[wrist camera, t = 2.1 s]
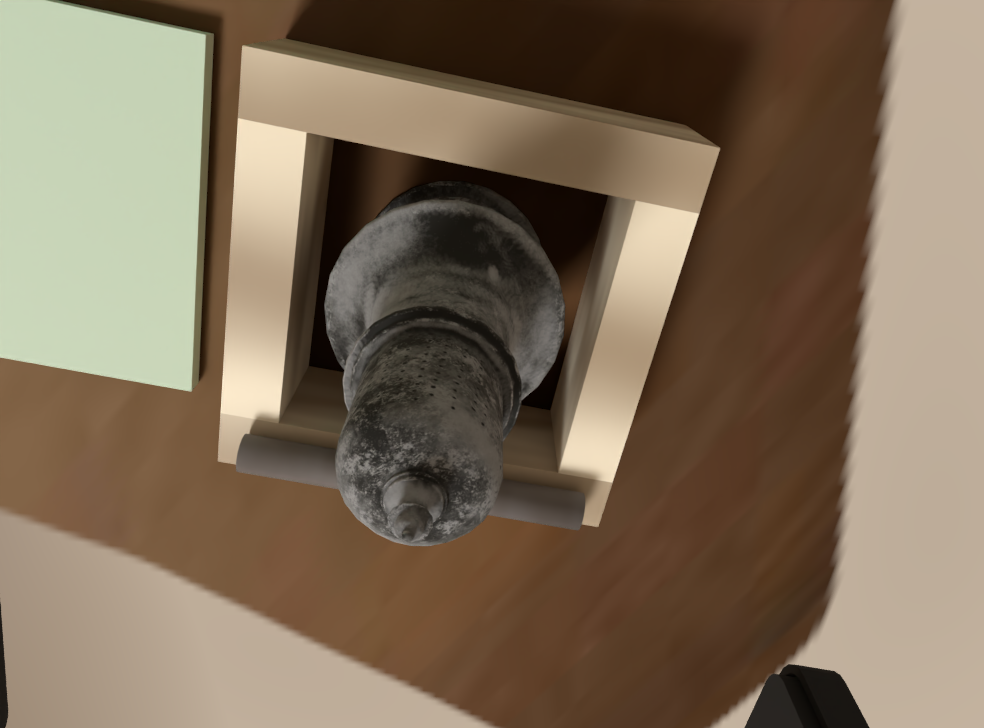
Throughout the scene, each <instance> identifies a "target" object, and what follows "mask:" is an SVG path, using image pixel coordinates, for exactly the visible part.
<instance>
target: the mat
mask: <svg viewBox="0 0 984 728" xmlns="http://www.w3.org/2000/svg"><path fill="white" fill-rule="evenodd" d="M213 45H214V34H212V33H208V32H203V31H198V30H194V29H189V28H184V27H180V26H175V25H170V24H166V23H161V22H157V21H152V20H147V19H143V18H138V17H133V16H129V15H124V14H119V13H115V12H110V11H105V10H101V9H96V8H91V7H87V6H82V5H78V4H73V3H68V2H64V1H59V0H0V357H1V358H7V359H12V360H18V361H24V362H29V363H35V364H40V365H46V366H52V367H57V368H63V369H68V370H74V371H79V372H85V373H91V374H96V375H102V376H107V377H113V378H118V379H124V380H130V381H135V382H141V383H146V384H152V385H158V386H163V387H169V388H174V389H180V390H185V391H192V390H193V389H194V388H195V386H196V385H197V384H198V383H199V361H200V338H201V316H202V293H203V271H204V248H205V225H206V203H207V180H208V158H209V135H210V112H211V90H212V67H213Z"/></svg>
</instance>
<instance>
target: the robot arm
mask: <svg viewBox="0 0 984 728" xmlns="http://www.w3.org/2000/svg"><path fill="white" fill-rule="evenodd" d="M7 718H8V702H7V688H6V674H5V660H4V646H3V632H2V618H1V604H0V728H5V727H6V723H7ZM745 728H869V726H868V724H867V723H866V720H865V719H864V717H863V715H862V713H861V711H860V709H859V707H858V705H857V704H856V702H855V700H854V698H853V696H852V694H851V692H850V690H849V688H848V687H847V685H846V683H845V681H844V680H843V679H842V677H841V676H840V675H839V674H838V673H836V672H835V671H830V670H824V669H818V668H812V667H805V666H799V665H790V664H789V665H787V666H786V667H784V668H783V669H782V671H781V673H780V674H772V675H771V676H769V678H768V679H767V681H766V683H765V685H764V687H763V689H762V691H761V694H760V696H759V698H758V700H757V702H756V704H755V706H754V709H753V711H752V713H751V715H750V717H749V719H748V721H747V724H746V726H745Z"/></svg>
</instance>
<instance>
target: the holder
mask: <svg viewBox="0 0 984 728" xmlns="http://www.w3.org/2000/svg"><path fill="white" fill-rule="evenodd" d="M334 138H336V139H341V140H346V141H351V142H355V143H360V144H365V145H370V146H375V147H379V148H384V149H389V150H394V151H399V152H404V153H408V154H413V155H418V156H423V157H428V158H432V159H437V160H442V161H447V162H452V163H457V164H461V165H466V166H471V167H476V168H481V169H486V170H490V171H495V172H500V173H505V174H510V175H514V176H519V177H524V178H529V179H534V180H539V181H543V182H548V183H553V184H558V185H563V186H568V187H572V188H577V189H582V190H587V191H592V192H596V193H601V194H606V195H608V198H607V202H606V205H605V209H604V213H603V217H602V220H601V224H600V228H599V231H598V235H597V239H596V243H595V246H594V250H593V254H592V258H591V261H590V265H589V269H588V272H587V276H586V280H585V284H584V287H583V291H582V295H581V299H580V302H579V306H578V310H577V313H576V317H575V321H574V325H573V328H572V332H571V336H570V339H569V343H568V347H567V351H566V354H565V358H564V362H563V366H562V369H561V373H560V377H559V380H558V384H557V388H556V392H555V395H554V399H553V403H552V407H551V410H546V409H540V408H535V407H529V406H524V405H521V407H520V410H519V413H518V417H517V420H516V423H515V425H514V426H513V428H512V429H511V431H510V432H509V434H508V435H507V437H506V438H505V440H504V441H503V480H502V484H501V487H500V490H499V493H498V496H497V499H496V501H495V504H494V506H493V508H492V509H491V510H490V512H489V513H488V515H491V516H497V517H503V518H509V519H515V520H521V521H526V522H532V523H538V524H544V525H550V526H555V527H561V528H567V529H573V530H579V529H580V527H581V525H582V524H584V525H590V526H596V527H598V526H599V523H600V519H601V516H602V513H603V510H604V507H605V504H606V501H607V498H608V495H609V492H610V489H611V485H612V482H613V479H614V476H615V473H616V470H617V467H618V464H619V461H620V458H621V454H622V451H623V448H624V445H625V442H626V439H627V436H628V433H629V430H630V427H631V423H632V420H633V417H634V414H635V411H636V408H637V405H638V402H639V399H640V396H641V392H642V389H643V386H644V383H645V380H646V377H647V374H648V371H649V368H650V365H651V361H652V358H653V355H654V352H655V349H656V346H657V343H658V340H659V337H660V334H661V330H662V327H663V324H664V321H665V318H666V315H667V312H668V309H669V306H670V303H671V299H672V296H673V293H674V290H675V287H676V284H677V281H678V278H679V275H680V272H681V268H682V265H683V262H684V259H685V256H686V253H687V250H688V247H689V244H690V241H691V237H692V234H693V231H694V228H695V225H696V222H697V219H698V216H699V213H700V210H701V206H702V203H703V200H704V197H705V194H706V191H707V188H708V185H709V182H710V179H711V175H712V172H713V169H714V166H715V163H716V160H717V157H718V154H719V151H720V147H718V146H717V145H715V144H713V143H712V142H710V141H709V140H707V139H706V138H704V137H703V136H701V135H700V134H698V133H697V132H695V131H694V130H692V129H691V128H689V127H688V126H686V125H683V124H678V123H673V122H669V121H664V120H660V119H655V118H650V117H646V116H641V115H636V114H632V113H627V112H623V111H618V110H613V109H609V108H604V107H600V106H595V105H590V104H586V103H581V102H576V101H572V100H567V99H563V98H558V97H553V96H549V95H544V94H539V93H535V92H530V91H526V90H521V89H516V88H512V87H507V86H502V85H498V84H493V83H489V82H484V81H479V80H475V79H470V78H465V77H461V76H456V75H452V74H447V73H442V72H438V71H433V70H428V69H424V68H419V67H415V66H410V65H405V64H401V63H396V62H391V61H387V60H382V59H378V58H373V57H368V56H364V55H359V54H355V53H350V52H345V51H341V50H336V49H331V48H327V47H322V46H318V45H313V44H308V43H304V42H299V41H294V40H290V39H285V38H284V39H278V40H272V41H266V42H260V43H254V44H248V45H242V60H241V77H240V94H239V111H238V128H237V145H236V162H235V179H234V196H233V213H232V230H231V246H230V263H229V280H228V297H227V314H226V331H225V348H224V365H223V382H222V399H221V415H220V432H219V449H218V461H219V462H225V463H231V464H236V471H237V472H241V473H247V474H253V475H259V476H265V477H271V478H276V479H282V480H288V481H294V482H300V483H305V484H311V485H317V486H323V487H329V488H334V489H339V488H338V485H337V476H336V466H335V455H336V450H337V445H338V440H339V437H340V434H341V431H342V428H343V426H344V423H345V420H346V418H347V415H348V409H347V407H346V404H345V401H344V391H343V376H344V372H339V371H334V370H328V369H323V368H317V367H312V366H309V359H310V350H311V341H312V332H313V323H314V314H315V305H316V296H317V287H318V278H319V269H320V260H321V252H322V243H323V234H324V225H325V216H326V207H327V198H328V189H329V180H330V171H331V162H332V153H333V144H334Z"/></svg>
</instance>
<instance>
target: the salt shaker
mask: <svg viewBox="0 0 984 728" xmlns="http://www.w3.org/2000/svg"><path fill="white" fill-rule="evenodd" d="M324 307H325V318H326V328H327V335H328V337H329V340H330V343H331V345H332V348H333V350H334V353H335V356H336V358H337V361H338V362H339V364H340V365H341V366H342V368H343V369H344V376H343V391H344V401H345V404H346V407H347V409H348V415H347V418H346V420H345V423H344V426H343V428H342V431H341V434H340V437H339V440H338V445H337V450H336V455H335V466H336V476H337V485H338V488H339V490H340V493H341V495H342V497H343V500H344V502H345V504H346V505H347V506H348V508H349V509H350V510H351V512H352V513H353V514H354V515H355V517H356V518H357V519H358V520H359V521H361V522H362V523H363V524H365V525H366V526H367V527H368V528H370V529H371V530H372V531H374V532H375V533H376V534H378V535H380V536H383V537H385V538H387V539H389V540H391V541H393V542H397V543H402V544H406V545H410V546H431V545H436V544H441V543H446V542H449V541H452V540H454V539H456V538H459V537H461V536H463V535H465V534H467V533H469V532H470V531H472V530H473V529H474V528H475V527H476V526H478V525H479V524H480V523H481V522H483V521H484V519H485V518H486V516H487V515H488V513H489V512H490V510H491V509H492V508H493V506H494V504H495V501H496V499H497V496H498V493H499V490H500V487H501V484H502V480H503V441H504V440H505V438H506V437H507V435H508V434H509V432H510V431H511V429H512V428H513V426H514V425H515V423H516V420H517V417H518V413H519V410H520V407H521V401H522V400H523V399H524V398H525V397H526V396H527V395H529V394H530V393H531V392H532V391H533V390H534V389H536V388H537V387H538V386H539V384H540V383H541V382H542V380H543V379H544V377H545V376H546V374H547V373H548V371H549V370H550V368H551V367H552V365H553V364H554V363H555V360H556V357H557V354H558V351H559V348H560V345H561V342H562V339H563V336H564V320H565V303H564V299H563V295H562V290H561V286H560V282H559V278H558V275H557V273H556V271H555V269H554V267H553V266H552V264H551V262H550V260H549V259H548V257H547V255H546V253H545V251H544V250H543V248H542V247H541V244H540V240H539V238H538V236H537V234H536V232H535V231H534V229H533V227H532V225H531V224H530V222H529V220H528V218H527V217H526V216H525V215H524V214H523V213H522V212H521V211H520V210H519V209H518V208H517V207H516V206H515V205H514V204H513V203H512V202H511V201H510V200H508V199H506V198H505V197H503V196H501V195H500V194H498V193H496V192H494V191H493V190H491V189H489V188H487V187H483V186H479V185H476V184H472V183H468V182H465V181H437V182H433V183H430V184H426V185H422V186H418V187H415V188H413V189H411V190H409V191H408V192H406V193H404V194H402V195H401V196H399V197H397V198H396V199H394V200H392V202H391V203H390V204H389V205H388V206H387V207H386V208H385V209H384V210H383V211H382V212H381V213H380V214H379V215H378V216H377V217H376V219H375V220H373V221H371V222H369V223H368V224H366V225H365V226H364V227H363V228H362V229H361V230H360V231H359V232H358V233H357V234H356V235H355V237H354V238H353V239H352V240H351V241H350V242H349V243H348V244H347V245H346V246H345V247H344V249H343V251H342V253H341V254H340V256H339V258H338V260H337V262H336V264H335V266H334V268H333V270H332V272H331V274H330V277H329V282H328V287H327V292H326V298H325V303H324Z"/></svg>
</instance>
